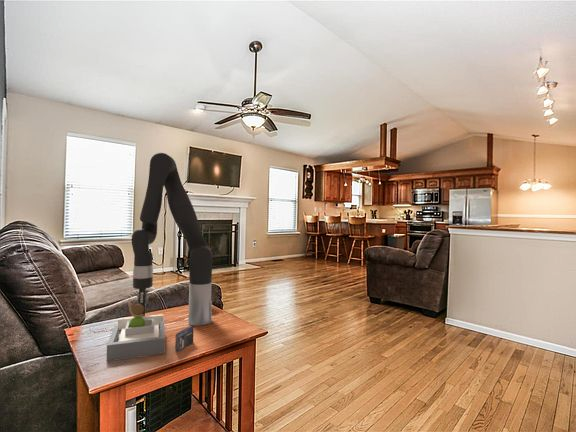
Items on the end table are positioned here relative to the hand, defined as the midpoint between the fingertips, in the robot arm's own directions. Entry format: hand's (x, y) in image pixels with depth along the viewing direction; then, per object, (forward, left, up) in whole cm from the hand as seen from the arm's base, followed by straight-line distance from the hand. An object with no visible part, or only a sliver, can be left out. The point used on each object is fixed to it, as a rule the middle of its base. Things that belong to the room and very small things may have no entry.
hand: (141, 317), depth 130 cm
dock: (0, +22, -3) cm, 22 cm away
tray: (0, +12, -3) cm, 12 cm away
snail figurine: (+2, +11, -2) cm, 12 cm away
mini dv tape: (-15, +29, -3) cm, 33 cm away
